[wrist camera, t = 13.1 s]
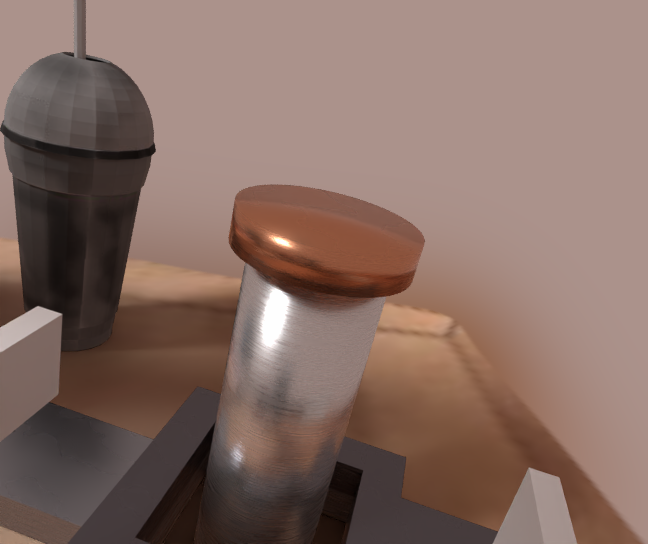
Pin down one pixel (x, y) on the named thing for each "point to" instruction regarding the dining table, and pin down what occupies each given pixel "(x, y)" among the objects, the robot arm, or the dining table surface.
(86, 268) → the beverage cup
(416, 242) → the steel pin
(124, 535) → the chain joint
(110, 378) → the dining table surface
